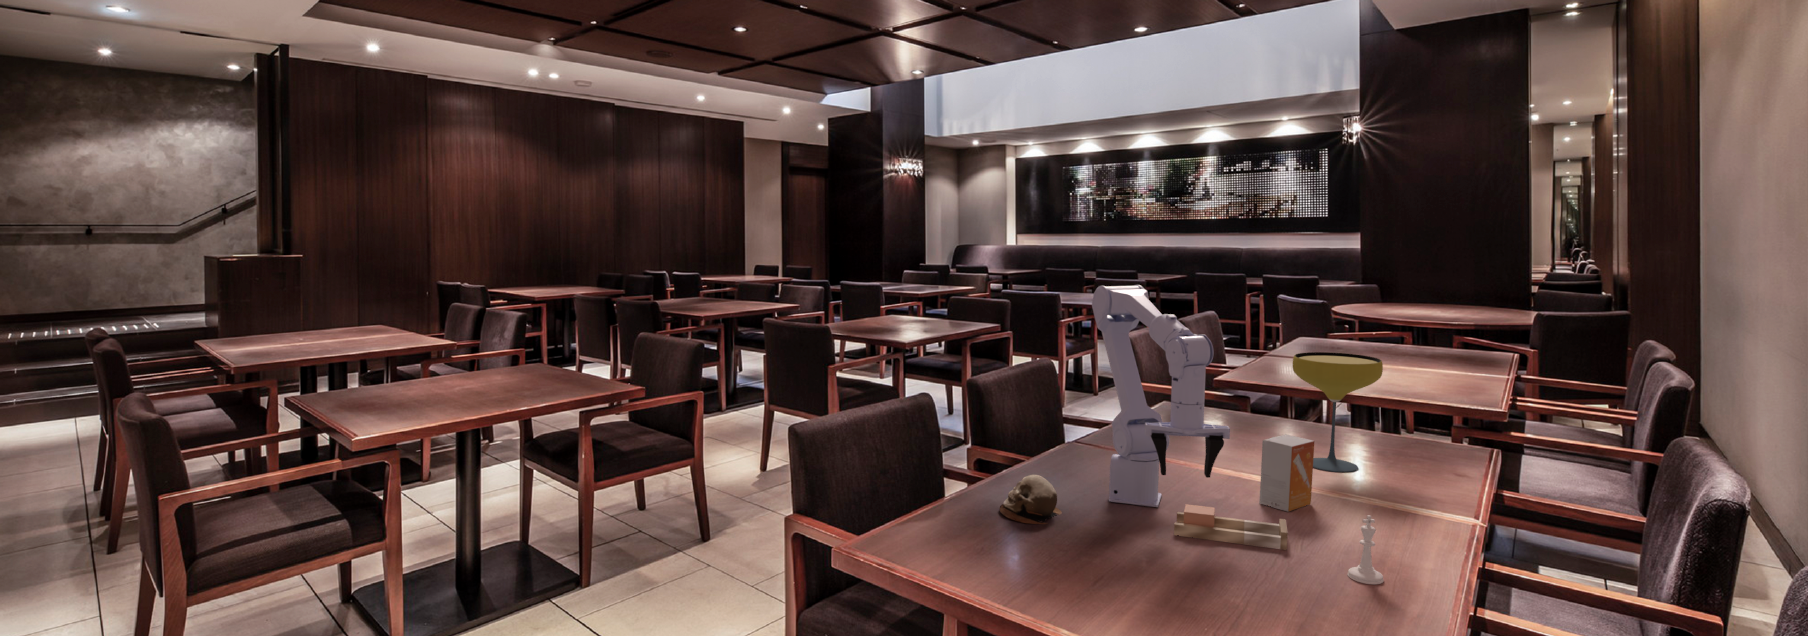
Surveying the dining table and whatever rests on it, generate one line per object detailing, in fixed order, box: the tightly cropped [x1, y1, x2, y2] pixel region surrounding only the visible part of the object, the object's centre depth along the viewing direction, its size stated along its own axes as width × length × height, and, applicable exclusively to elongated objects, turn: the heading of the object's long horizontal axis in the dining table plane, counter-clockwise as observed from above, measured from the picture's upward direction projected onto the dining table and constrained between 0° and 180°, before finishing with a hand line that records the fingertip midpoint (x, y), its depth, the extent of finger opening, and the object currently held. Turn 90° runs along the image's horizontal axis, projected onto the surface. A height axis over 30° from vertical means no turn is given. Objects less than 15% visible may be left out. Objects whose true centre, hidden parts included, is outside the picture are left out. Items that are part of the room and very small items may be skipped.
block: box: [1183, 503, 1216, 527], centre depth 147 cm, size 5×4×4 cm
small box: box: [1259, 433, 1315, 513], centre depth 161 cm, size 8×6×13 cm
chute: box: [1173, 511, 1289, 551], centre depth 145 cm, size 18×7×3 cm, turn 67°
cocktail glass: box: [1292, 351, 1384, 473], centre depth 186 cm, size 18×18×25 cm
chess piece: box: [1347, 514, 1384, 585], centre depth 127 cm, size 5×5×10 cm
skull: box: [999, 474, 1063, 525], centre depth 157 cm, size 12×10×10 cm
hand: (1185, 474), depth 149 cm, fingers open, 7 cm apart
